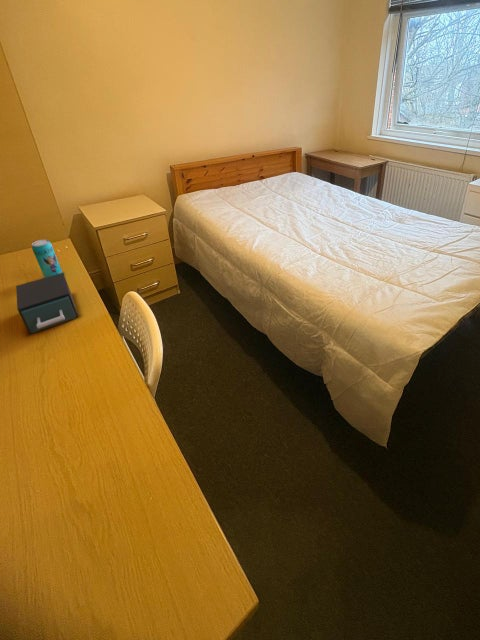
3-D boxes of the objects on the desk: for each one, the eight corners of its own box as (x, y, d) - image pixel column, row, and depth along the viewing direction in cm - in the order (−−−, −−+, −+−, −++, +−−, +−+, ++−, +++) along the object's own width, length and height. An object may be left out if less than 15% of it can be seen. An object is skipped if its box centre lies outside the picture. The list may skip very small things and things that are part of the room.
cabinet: (78, 317, 103) (69, 293, 99) (29, 334, 96) (17, 309, 92) (72, 295, 113) (63, 272, 109) (27, 309, 106) (16, 285, 101)
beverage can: (52, 282, 120) (37, 247, 113) (41, 279, 121) (26, 244, 114) (66, 274, 124) (53, 240, 118) (56, 271, 126) (42, 237, 119)
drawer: (78, 326, 98) (70, 306, 95) (32, 343, 92) (21, 322, 88) (70, 297, 111) (62, 278, 107) (28, 310, 104) (19, 290, 101)
